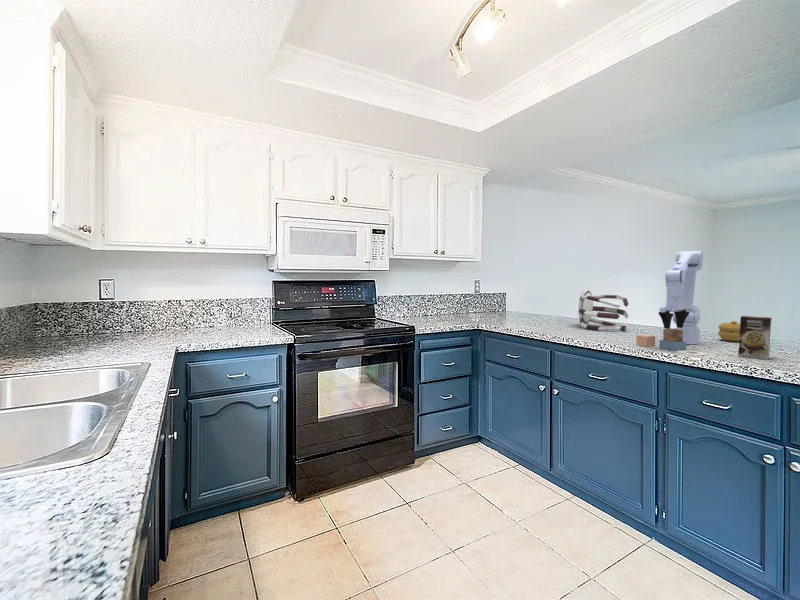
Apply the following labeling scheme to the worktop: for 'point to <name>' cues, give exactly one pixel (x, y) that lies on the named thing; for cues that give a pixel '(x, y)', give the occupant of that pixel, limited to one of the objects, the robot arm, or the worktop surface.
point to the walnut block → (673, 335)
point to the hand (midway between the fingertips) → (673, 328)
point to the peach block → (645, 340)
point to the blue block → (672, 345)
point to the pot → (730, 331)
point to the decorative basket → (587, 311)
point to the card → (692, 353)
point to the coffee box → (754, 337)
